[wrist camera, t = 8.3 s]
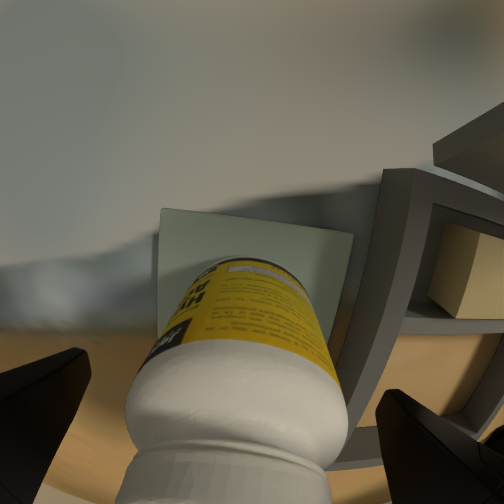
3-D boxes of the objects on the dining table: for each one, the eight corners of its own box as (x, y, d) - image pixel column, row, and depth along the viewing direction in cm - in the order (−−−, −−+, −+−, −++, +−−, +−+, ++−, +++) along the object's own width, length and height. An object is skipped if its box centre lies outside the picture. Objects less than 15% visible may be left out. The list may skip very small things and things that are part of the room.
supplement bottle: (206, 233, 11) (51, 418, 2) (329, 277, 12) (448, 483, 2) (173, 339, 13) (89, 525, 3) (280, 374, 13) (295, 567, 4)
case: (463, 418, 15) (480, 442, 12) (307, 438, 15) (313, 477, 12) (541, 226, 11) (573, 237, 8) (382, 168, 11) (420, 168, 8)
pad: (312, 382, 14) (313, 387, 13) (161, 362, 14) (159, 367, 13) (351, 233, 12) (353, 235, 11) (163, 207, 12) (160, 208, 11)
